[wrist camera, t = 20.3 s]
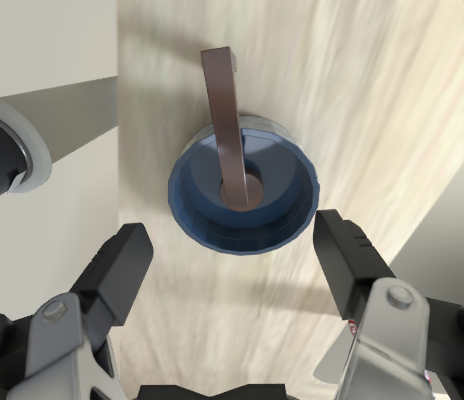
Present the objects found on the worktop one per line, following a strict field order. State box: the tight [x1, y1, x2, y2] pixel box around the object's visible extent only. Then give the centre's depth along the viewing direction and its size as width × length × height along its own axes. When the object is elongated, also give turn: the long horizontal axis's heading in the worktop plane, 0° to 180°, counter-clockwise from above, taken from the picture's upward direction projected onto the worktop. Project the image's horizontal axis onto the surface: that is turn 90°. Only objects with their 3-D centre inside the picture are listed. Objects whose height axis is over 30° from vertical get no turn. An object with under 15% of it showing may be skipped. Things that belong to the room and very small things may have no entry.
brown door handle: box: [201, 46, 264, 212], centre depth 19 cm, size 14×5×8 cm, turn 8°
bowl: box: [168, 115, 320, 256], centre depth 23 cm, size 14×14×4 cm
